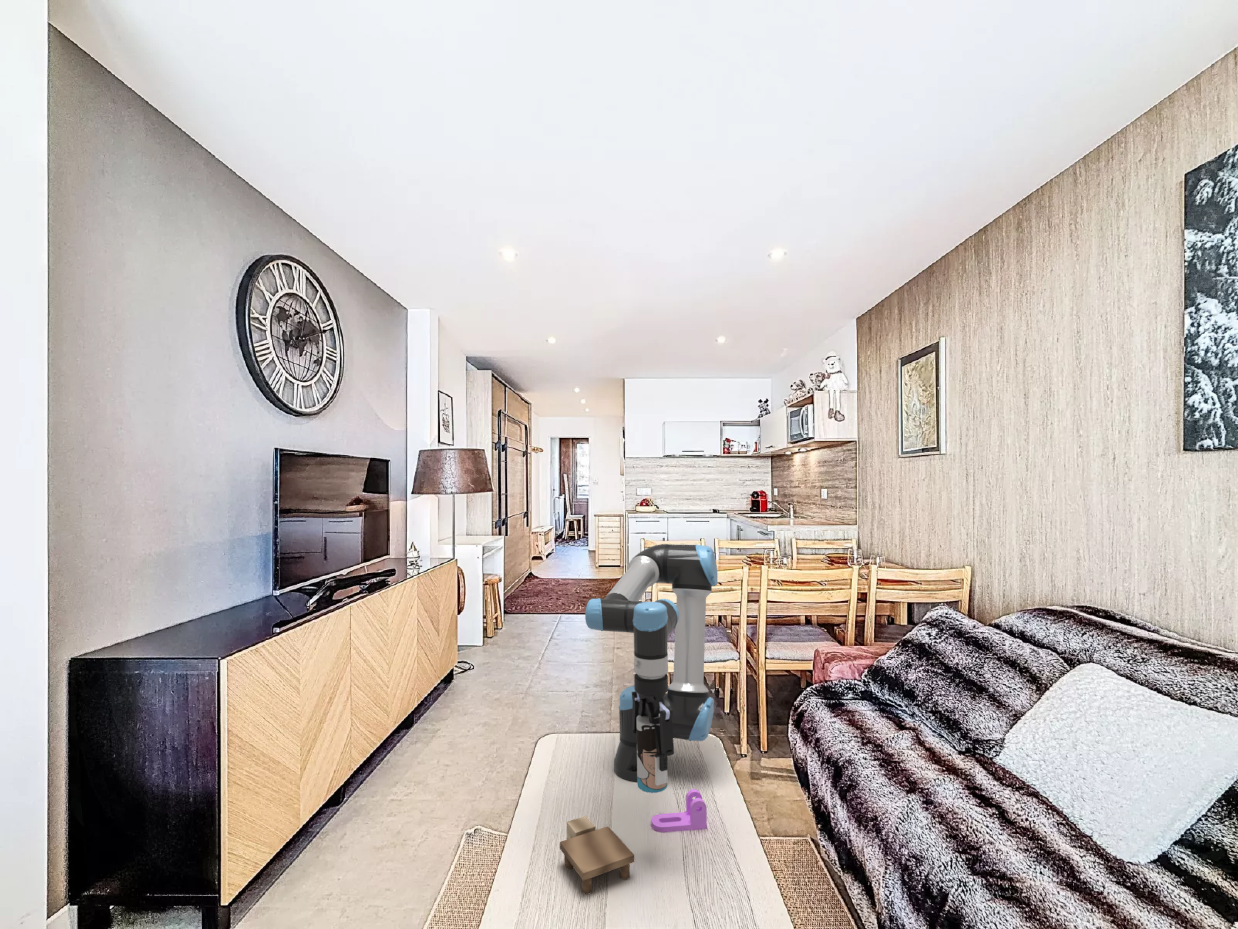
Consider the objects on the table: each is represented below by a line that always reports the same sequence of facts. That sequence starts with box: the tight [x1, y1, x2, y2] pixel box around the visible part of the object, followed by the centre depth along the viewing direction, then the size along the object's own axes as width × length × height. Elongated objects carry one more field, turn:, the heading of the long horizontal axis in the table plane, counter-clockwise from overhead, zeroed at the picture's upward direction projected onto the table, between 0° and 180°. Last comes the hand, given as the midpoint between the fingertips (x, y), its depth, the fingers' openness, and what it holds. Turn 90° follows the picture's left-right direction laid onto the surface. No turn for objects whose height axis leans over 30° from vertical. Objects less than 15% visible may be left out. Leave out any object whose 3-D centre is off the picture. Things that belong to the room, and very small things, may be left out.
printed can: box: [636, 714, 668, 794], centre depth 140 cm, size 7×7×15 cm
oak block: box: [566, 815, 596, 840], centre depth 144 cm, size 5×5×5 cm
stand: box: [559, 825, 635, 895], centre depth 135 cm, size 12×12×5 cm
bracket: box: [650, 788, 708, 833], centre depth 152 cm, size 13×6×7 cm, turn 97°
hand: (652, 775), depth 140 cm, fingers closed on printed can, 7 cm apart
